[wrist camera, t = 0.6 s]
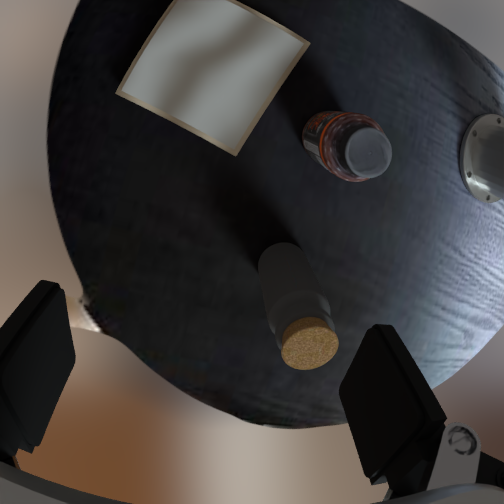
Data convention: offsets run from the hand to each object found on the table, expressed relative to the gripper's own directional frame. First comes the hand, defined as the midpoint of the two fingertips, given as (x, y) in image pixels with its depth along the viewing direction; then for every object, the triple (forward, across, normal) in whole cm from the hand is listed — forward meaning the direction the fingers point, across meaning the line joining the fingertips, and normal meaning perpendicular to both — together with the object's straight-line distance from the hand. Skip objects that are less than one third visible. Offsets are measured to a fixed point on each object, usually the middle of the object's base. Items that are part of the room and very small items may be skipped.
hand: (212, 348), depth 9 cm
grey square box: (+27, +3, -11) cm, 29 cm away
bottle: (+27, -8, +10) cm, 30 cm away
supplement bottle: (+27, -10, -6) cm, 29 cm away
